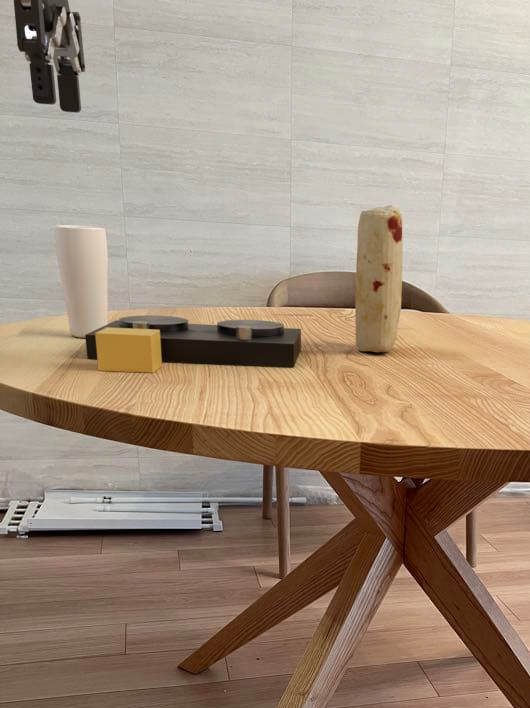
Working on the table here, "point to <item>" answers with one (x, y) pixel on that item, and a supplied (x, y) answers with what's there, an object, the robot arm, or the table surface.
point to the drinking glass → (83, 276)
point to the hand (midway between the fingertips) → (58, 108)
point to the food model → (378, 278)
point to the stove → (215, 341)
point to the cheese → (128, 350)
